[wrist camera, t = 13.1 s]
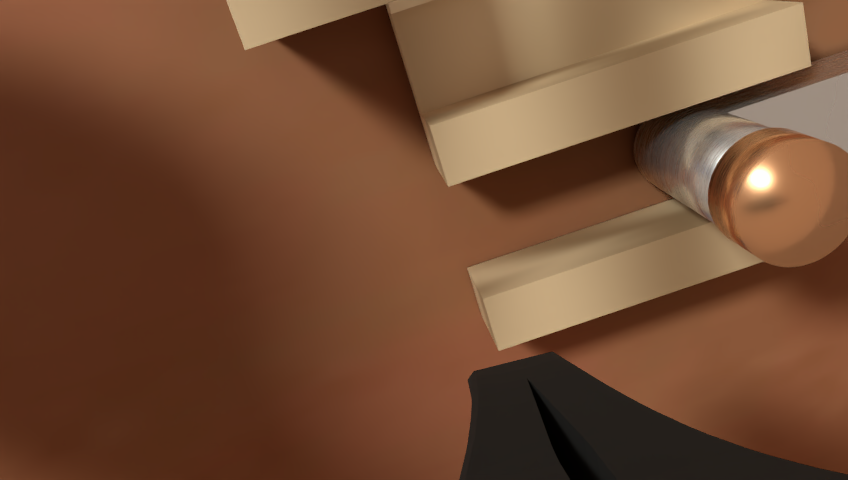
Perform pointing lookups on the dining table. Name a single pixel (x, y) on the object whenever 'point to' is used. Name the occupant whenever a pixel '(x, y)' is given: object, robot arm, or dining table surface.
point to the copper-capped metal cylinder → (762, 162)
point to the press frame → (568, 122)
